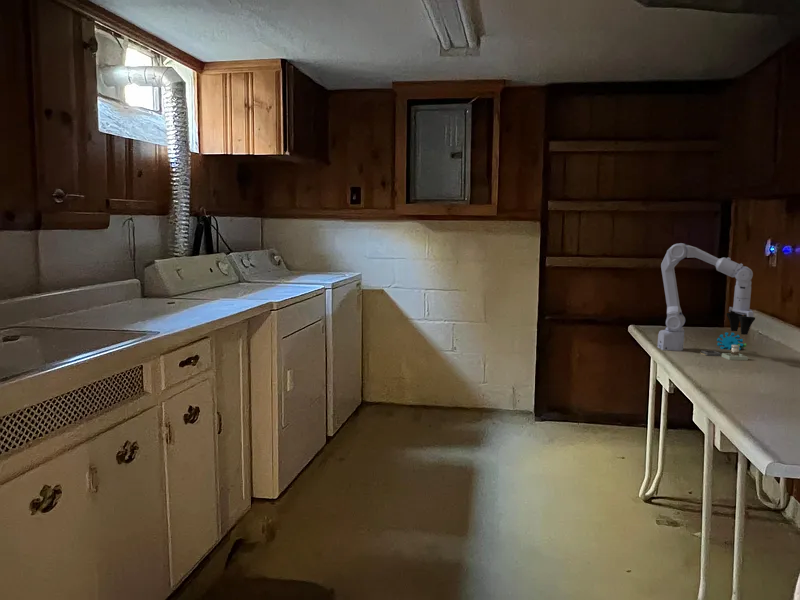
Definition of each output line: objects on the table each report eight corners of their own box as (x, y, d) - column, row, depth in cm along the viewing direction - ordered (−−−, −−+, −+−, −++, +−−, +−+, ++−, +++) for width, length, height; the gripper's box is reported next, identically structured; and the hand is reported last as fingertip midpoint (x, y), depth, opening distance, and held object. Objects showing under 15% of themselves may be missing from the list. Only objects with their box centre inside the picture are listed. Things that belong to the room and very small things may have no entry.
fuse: (732, 360, 258) (733, 345, 257) (728, 359, 261) (730, 344, 260) (739, 361, 258) (740, 346, 257) (736, 359, 261) (737, 344, 260)
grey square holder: (705, 358, 263) (705, 353, 263) (698, 355, 269) (699, 350, 269) (722, 359, 263) (722, 353, 263) (715, 356, 269) (715, 350, 269)
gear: (713, 347, 279) (720, 328, 284) (713, 355, 284) (719, 336, 288) (743, 354, 274) (749, 335, 278) (741, 362, 278) (747, 343, 283)
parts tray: (729, 362, 256) (729, 356, 256) (721, 359, 262) (721, 353, 262) (747, 363, 257) (747, 356, 256) (739, 359, 263) (739, 353, 262)
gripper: (762, 300, 254) (759, 336, 256) (742, 296, 269) (739, 329, 270) (744, 300, 254) (740, 335, 256) (725, 295, 269) (722, 329, 270)
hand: (739, 332), depth 263 cm, fingers open, 7 cm apart
